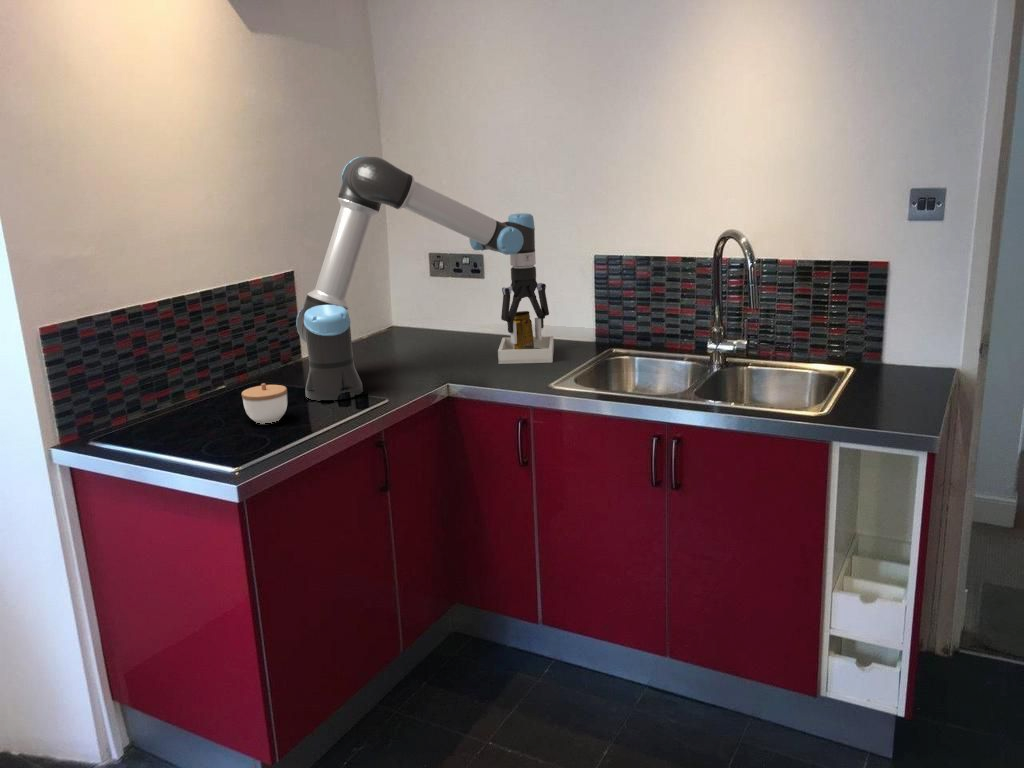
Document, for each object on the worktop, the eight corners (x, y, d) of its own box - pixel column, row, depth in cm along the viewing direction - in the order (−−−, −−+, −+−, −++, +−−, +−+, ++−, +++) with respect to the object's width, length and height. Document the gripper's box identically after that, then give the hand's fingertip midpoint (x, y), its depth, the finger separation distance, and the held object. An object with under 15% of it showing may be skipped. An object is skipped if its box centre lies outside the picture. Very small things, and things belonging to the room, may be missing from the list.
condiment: (509, 351, 275) (505, 312, 273) (533, 347, 279) (529, 309, 277) (521, 353, 269) (517, 313, 267) (545, 348, 273) (541, 309, 271)
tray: (498, 363, 265) (497, 350, 264) (503, 350, 282) (502, 337, 281) (552, 362, 264) (552, 349, 263) (553, 348, 281) (553, 336, 280)
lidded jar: (236, 423, 219) (231, 386, 216) (272, 411, 227) (267, 376, 225) (263, 429, 212) (258, 392, 210) (299, 418, 221) (295, 381, 218)
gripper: (497, 271, 258) (501, 348, 264) (559, 264, 267) (561, 338, 273) (486, 268, 265) (490, 343, 271) (547, 261, 273) (550, 334, 279)
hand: (526, 341), depth 272 cm, fingers open, 8 cm apart
